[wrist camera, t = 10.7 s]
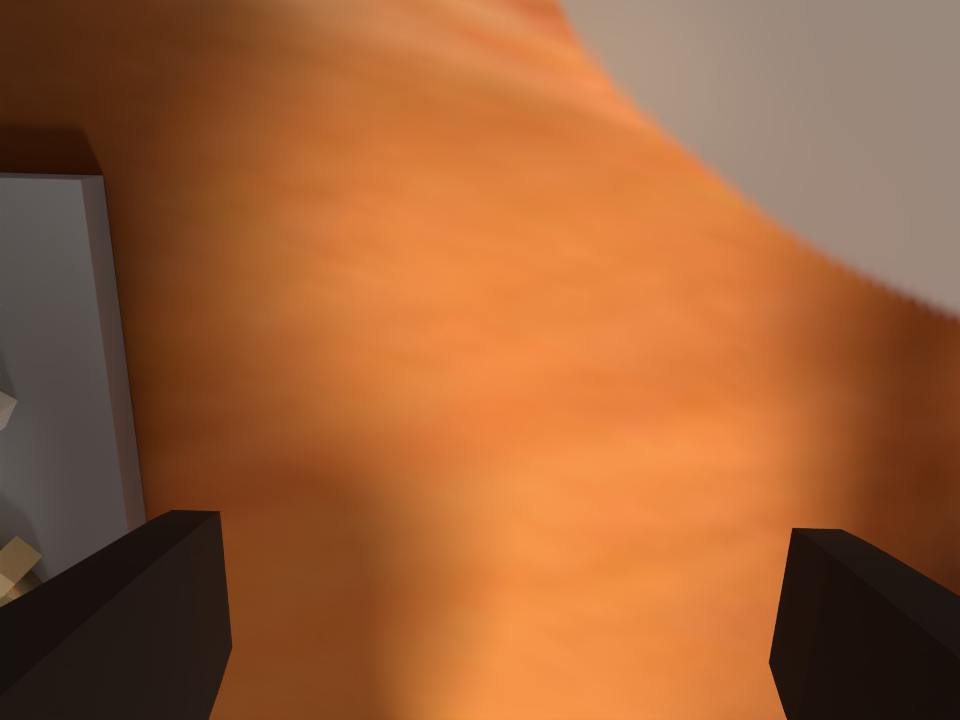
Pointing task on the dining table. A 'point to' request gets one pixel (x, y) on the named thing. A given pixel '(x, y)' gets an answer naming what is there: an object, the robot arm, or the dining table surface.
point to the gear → (6, 408)
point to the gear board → (61, 382)
